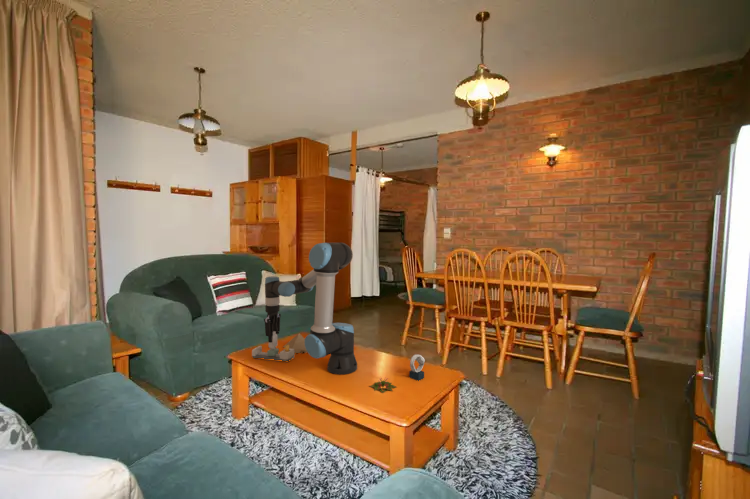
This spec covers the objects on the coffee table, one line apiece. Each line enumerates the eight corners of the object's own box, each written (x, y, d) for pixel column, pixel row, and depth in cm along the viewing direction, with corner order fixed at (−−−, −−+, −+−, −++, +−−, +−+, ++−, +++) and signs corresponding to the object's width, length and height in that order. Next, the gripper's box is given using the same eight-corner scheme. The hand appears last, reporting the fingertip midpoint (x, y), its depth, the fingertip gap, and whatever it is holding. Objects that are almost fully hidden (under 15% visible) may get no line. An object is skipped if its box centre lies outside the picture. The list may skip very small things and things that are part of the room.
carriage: (278, 353, 187) (278, 330, 187) (273, 356, 182) (273, 333, 182) (272, 353, 188) (272, 330, 188) (267, 356, 183) (267, 332, 183)
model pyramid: (289, 356, 189) (288, 339, 189) (282, 347, 204) (282, 331, 204) (317, 351, 197) (317, 335, 197) (308, 343, 212) (308, 327, 212)
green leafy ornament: (383, 380, 158) (383, 370, 158) (402, 388, 150) (402, 378, 149) (364, 387, 150) (364, 377, 150) (382, 397, 141) (382, 386, 141)
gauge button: (289, 352, 184) (289, 344, 184) (287, 353, 182) (287, 346, 182) (286, 351, 184) (286, 344, 184) (284, 353, 182) (284, 345, 182)
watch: (426, 377, 160) (426, 354, 160) (416, 382, 155) (416, 358, 154) (417, 373, 164) (417, 351, 164) (406, 378, 159) (406, 355, 158)
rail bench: (294, 357, 186) (294, 348, 186) (288, 362, 179) (287, 353, 179) (259, 354, 192) (259, 345, 191) (252, 358, 185) (252, 349, 185)
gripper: (274, 301, 193) (274, 341, 194) (257, 307, 177) (258, 350, 178) (286, 302, 191) (286, 342, 192) (270, 307, 176) (270, 352, 176)
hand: (273, 346), depth 185 cm, fingers closed on carriage, 3 cm apart
